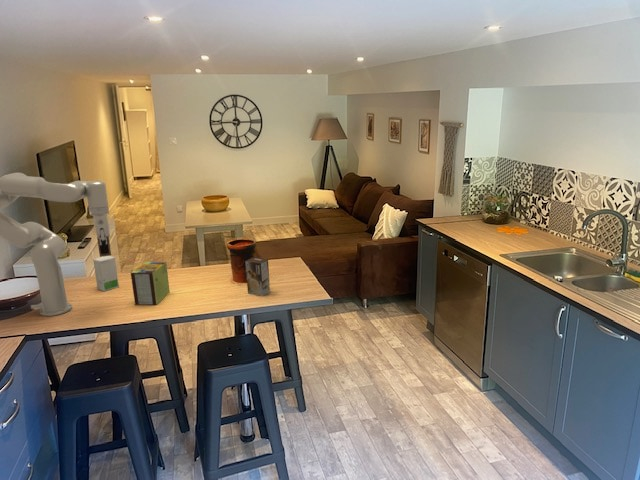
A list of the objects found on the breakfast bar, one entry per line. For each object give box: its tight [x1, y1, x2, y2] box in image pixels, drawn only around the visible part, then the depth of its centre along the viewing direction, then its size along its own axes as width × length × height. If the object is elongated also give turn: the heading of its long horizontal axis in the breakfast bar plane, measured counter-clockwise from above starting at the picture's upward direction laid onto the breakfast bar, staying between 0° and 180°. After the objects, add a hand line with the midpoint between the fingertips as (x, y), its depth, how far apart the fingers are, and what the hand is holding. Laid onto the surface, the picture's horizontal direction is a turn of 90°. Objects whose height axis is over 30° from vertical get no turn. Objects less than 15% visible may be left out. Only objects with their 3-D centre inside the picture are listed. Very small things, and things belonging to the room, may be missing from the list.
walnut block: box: [96, 236, 112, 258], centre depth 206 cm, size 4×4×8 cm
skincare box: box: [93, 255, 120, 292], centre depth 234 cm, size 8×7×16 cm
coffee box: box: [245, 257, 271, 297], centre depth 224 cm, size 9×6×16 cm
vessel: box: [226, 238, 257, 285], centre depth 241 cm, size 14×14×20 cm
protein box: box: [130, 261, 171, 306], centre depth 220 cm, size 10×15×16 cm
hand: (104, 251), depth 206 cm, fingers closed on walnut block, 4 cm apart
